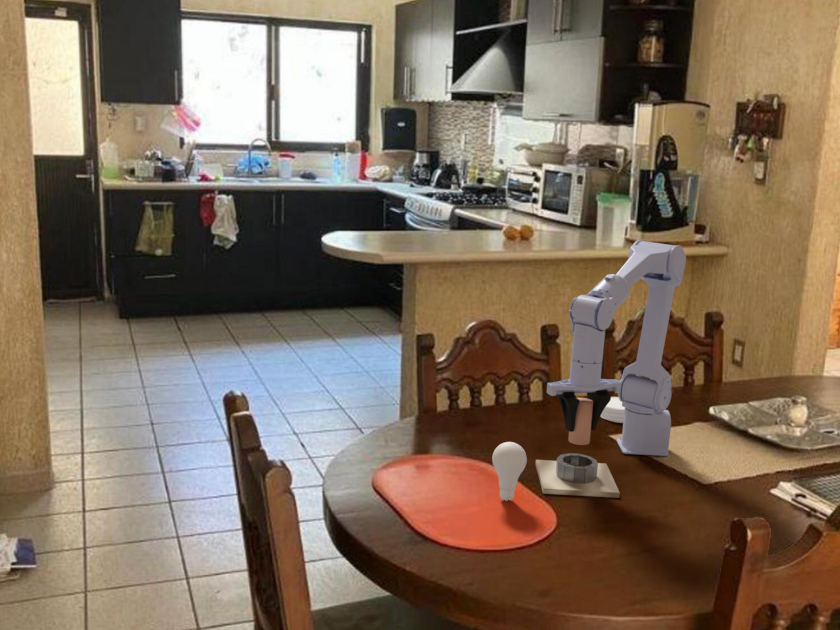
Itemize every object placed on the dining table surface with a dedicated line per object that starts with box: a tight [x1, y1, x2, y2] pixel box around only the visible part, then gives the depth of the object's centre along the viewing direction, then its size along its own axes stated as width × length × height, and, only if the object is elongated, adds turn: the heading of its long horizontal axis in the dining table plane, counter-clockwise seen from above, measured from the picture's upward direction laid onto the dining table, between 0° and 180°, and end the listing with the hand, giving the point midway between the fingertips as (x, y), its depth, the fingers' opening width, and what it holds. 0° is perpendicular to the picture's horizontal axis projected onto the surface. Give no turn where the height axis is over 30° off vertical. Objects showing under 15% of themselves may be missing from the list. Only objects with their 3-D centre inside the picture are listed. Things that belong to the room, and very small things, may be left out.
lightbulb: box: [491, 441, 528, 502], centre depth 159 cm, size 6×6×11 cm
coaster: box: [600, 396, 625, 424], centre depth 209 cm, size 10×10×4 cm
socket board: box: [534, 452, 621, 499], centre depth 171 cm, size 14×14×4 cm
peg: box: [568, 397, 593, 446], centre depth 168 cm, size 4×4×8 cm
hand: (580, 429), depth 169 cm, fingers closed on peg, 4 cm apart
